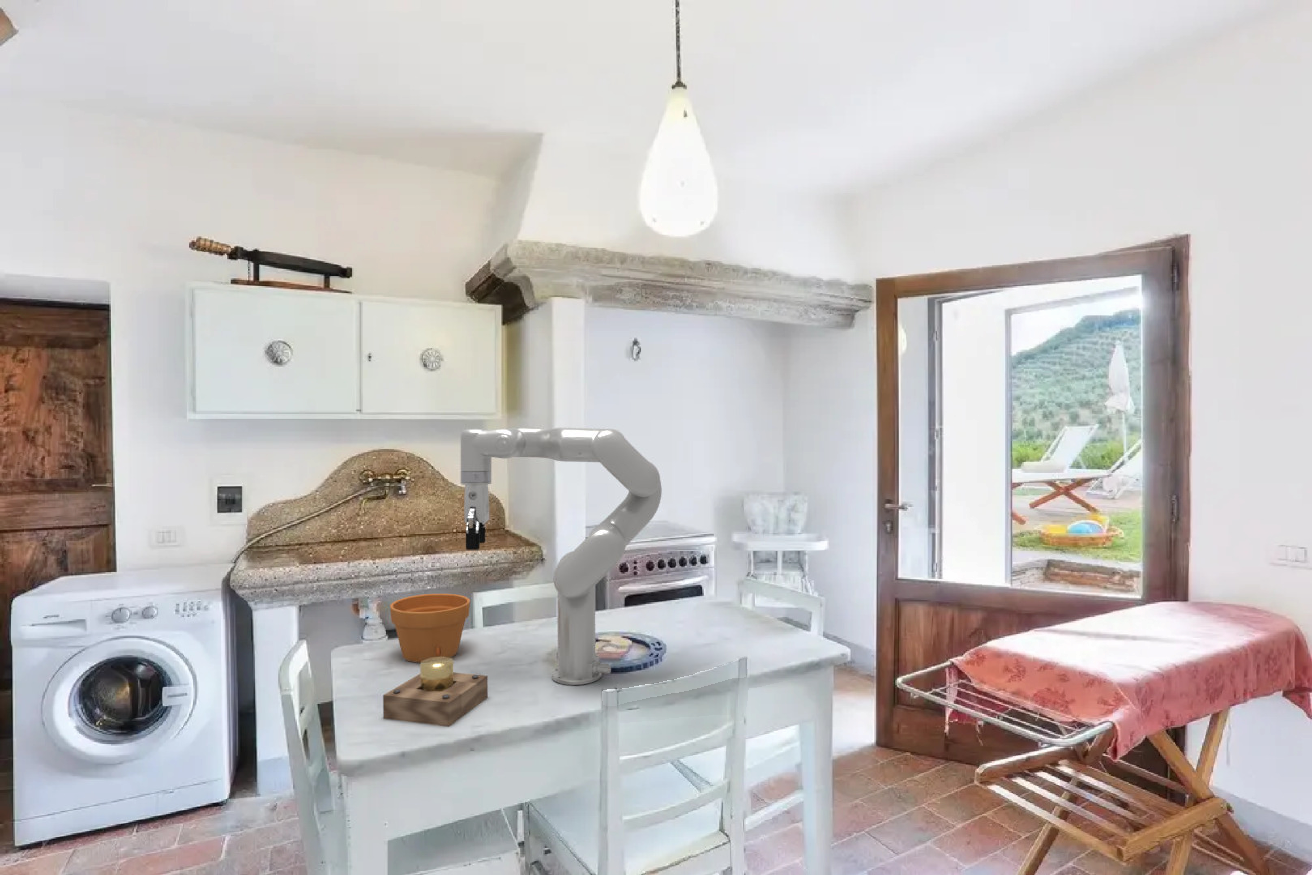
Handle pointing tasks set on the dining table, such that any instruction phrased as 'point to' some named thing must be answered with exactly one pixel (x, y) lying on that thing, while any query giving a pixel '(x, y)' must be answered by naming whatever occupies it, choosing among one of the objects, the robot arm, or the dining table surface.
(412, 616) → the flower pot
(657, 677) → the dining table surface
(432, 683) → the yellow translucent cylinder
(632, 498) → the robot arm
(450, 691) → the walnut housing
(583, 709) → the dining table surface
